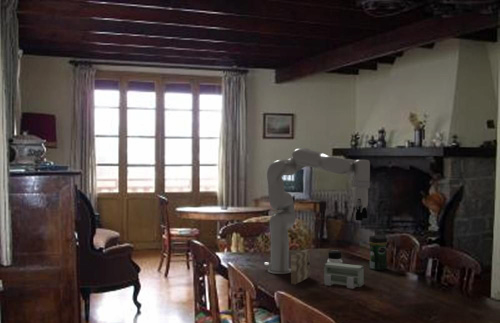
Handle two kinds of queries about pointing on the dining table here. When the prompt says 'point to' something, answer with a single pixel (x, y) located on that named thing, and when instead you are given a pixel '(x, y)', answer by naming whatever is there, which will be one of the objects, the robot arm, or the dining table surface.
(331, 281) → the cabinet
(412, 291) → the dining table surface
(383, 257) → the coffee jar
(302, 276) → the beige thin block
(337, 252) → the container
